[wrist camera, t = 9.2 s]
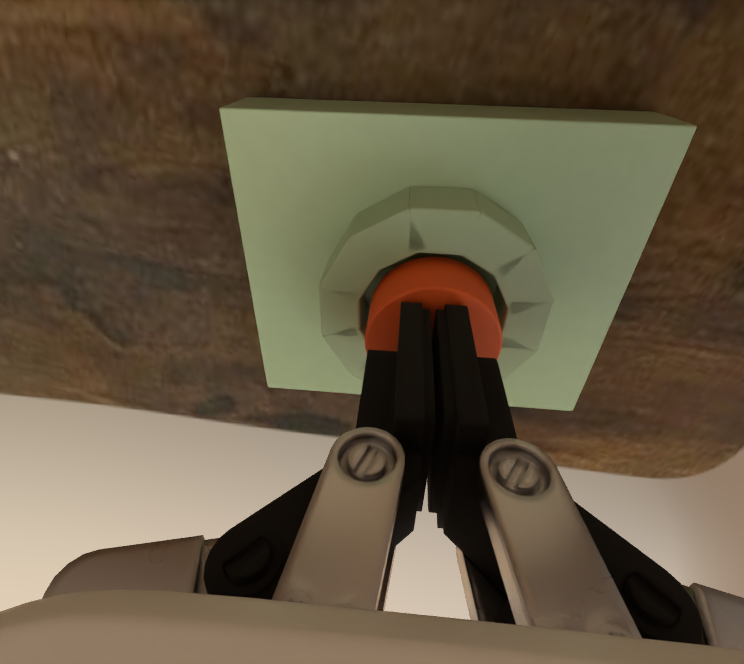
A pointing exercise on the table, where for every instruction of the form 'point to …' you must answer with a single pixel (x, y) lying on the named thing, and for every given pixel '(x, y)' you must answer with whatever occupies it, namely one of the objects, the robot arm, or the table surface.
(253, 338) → the table surface
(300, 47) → the table surface
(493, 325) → the button
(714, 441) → the table surface
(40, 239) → the table surface
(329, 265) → the button block
